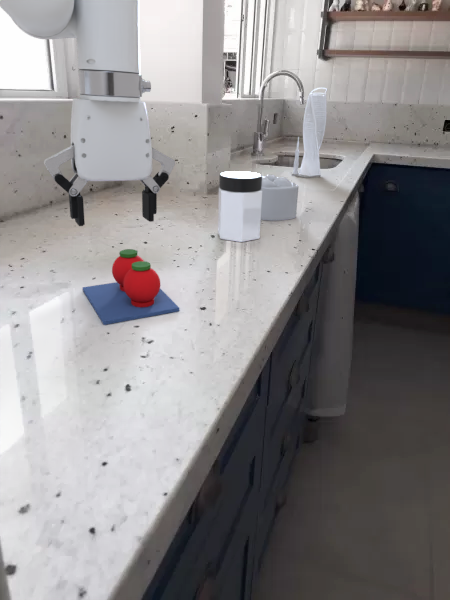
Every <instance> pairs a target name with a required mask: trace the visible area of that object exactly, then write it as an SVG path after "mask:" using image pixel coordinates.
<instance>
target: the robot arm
mask: <svg viewBox="0 0 450 600" xmlns="http://www.w3.org/2000/svg"><path fill="white" fill-rule="evenodd" d="M0 8H1V9H2V10H3V11H4V12H5V13H6V14H7V15H8V17H10V19H11V20H12V21H13V23H14V24H15V25H16V26H17V27H18V28H19V29H20V31H22V32H24V34H26V35H28V36H30V37H33V38H34V39H39V40H60V39H75V41H76V57H77V59H76V60H77V69H78V71H77V74H78V89H79V91H78V93H79V97H78V98H72V103H71V104H72V105H71V113H70V114H71V115H70V145H69V146H67V147H66V148H64V149H62V150H60V151H58V152H56V153H54V154H51V156H48V157H47V158H45V159H44V160H43V164H44V166H45V168H46V169H47V171H48V173H49V174H50V175H51V177H52V179H53V181H54V182H55V183H56V184H57V185H58V186H60V187H61V188H62V189H63V190H64V191H65V192H66V193H68V204H69V215H70V218H71V219H72V220H74V221H75V223H76V224H77V226H78V227H84V226H85V223H86V222H85V206H84V197H83V196H82V194H81V191H83V189H84V187H85V186H86V185H87V183H88V182H123V181H125V182H126V181H140V182H141V183H142V185H143V186H144V189H142V192H141V208H142V209H141V210H142V211H141V212H142V213H141V214H142V217H143V218H144V219H145V220H147V221H148V222H150V223H151V222H155V221H154V220H155V215H157V211H158V210H157V208H158V205H157V204H158V203H157V201H158V200H157V198H158V197H157V195H158V193H160V191H161V188H162V187H163V186H164V185H165V184H166V182H168V181H169V178H170V175H171V173H172V171H173V170H174V167H175V165H176V161H175V160H174V159H173V158H172V157H170V156H168V155H166V154H164V153H162V152H161V151H159V150H158V149H155V148H154V147H152V137H151V135H152V134H151V127H150V122H149V115H148V110H147V109H148V108H147V105H146V102H145V101H141V98H142V97H143V94H145V93H151V91H152V83H151V81H150V80H145V79H143V75H142V74H141V49H140V48H141V47H140V46H141V44H140V43H141V42H140V39H141V38H140V37H141V36H140V0H0ZM153 160H154V161H156V162H158V163H160V169H159V171H158V172H157V173H156V174H155V175H153V177H152V176H151V175H152V173H153ZM68 161H70V164H71V169H72V172H73V173H74V174H73V176H72V177H70V179H69V180H68V178H66V177H65V176H64V175H63V173H62V171H61V170H60V166H61V165H63V164H64V163H66V162H68Z"/></svg>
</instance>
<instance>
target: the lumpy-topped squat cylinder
mask: <svg viewBox="0 0 450 600" xmlns="http://www.w3.org/2000/svg"><path fill="white" fill-rule="evenodd" d="M261 191H262V206H261V221H288V220H293V219H295V218H296V217H297V211H298V210H297V209H298V196H299V185H298V184H296V183H295V182H292V181H290V179H289V178H287V177H285V176H276V175H275V174H266V175H265V176H264V175H262V187H261Z"/></svg>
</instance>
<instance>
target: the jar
mask: <svg viewBox="0 0 450 600" xmlns="http://www.w3.org/2000/svg"><path fill="white" fill-rule="evenodd" d="M262 176H263V175H262V174H260V173H257V172H251V171H240V170H239V171H235V170H234V171H224V172H221V173H219V177H218V178H219V180H218V208H217V209H218V213H217V233H218V234H217V235H218V236H219V239H220V240H224V241H230V242H237V243H244V242H249V241H254V240H259V239H260V237H261V221H262V220H261V206H262V191H261V187H262Z"/></svg>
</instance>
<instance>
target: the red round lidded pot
mask: <svg viewBox="0 0 450 600" xmlns="http://www.w3.org/2000/svg"><path fill="white" fill-rule="evenodd" d="M160 278H161V277H160V276H159V274H158V273H157V272H156V271H155V270H154V268H151V262H150V261H145V260H144V261H138V262H134V263H132V269H130V270H129V271H128V272H127V274H126V275H125V277H124V281H123V287H124V291H125V293H126V294H127V296H128V297H129V298H131V304H132V305H133V306H135V307H148V306H151V305H153V304H154V297H155V296H156V295H157V294H158V292H159V290H160V289H161V279H160Z"/></svg>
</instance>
